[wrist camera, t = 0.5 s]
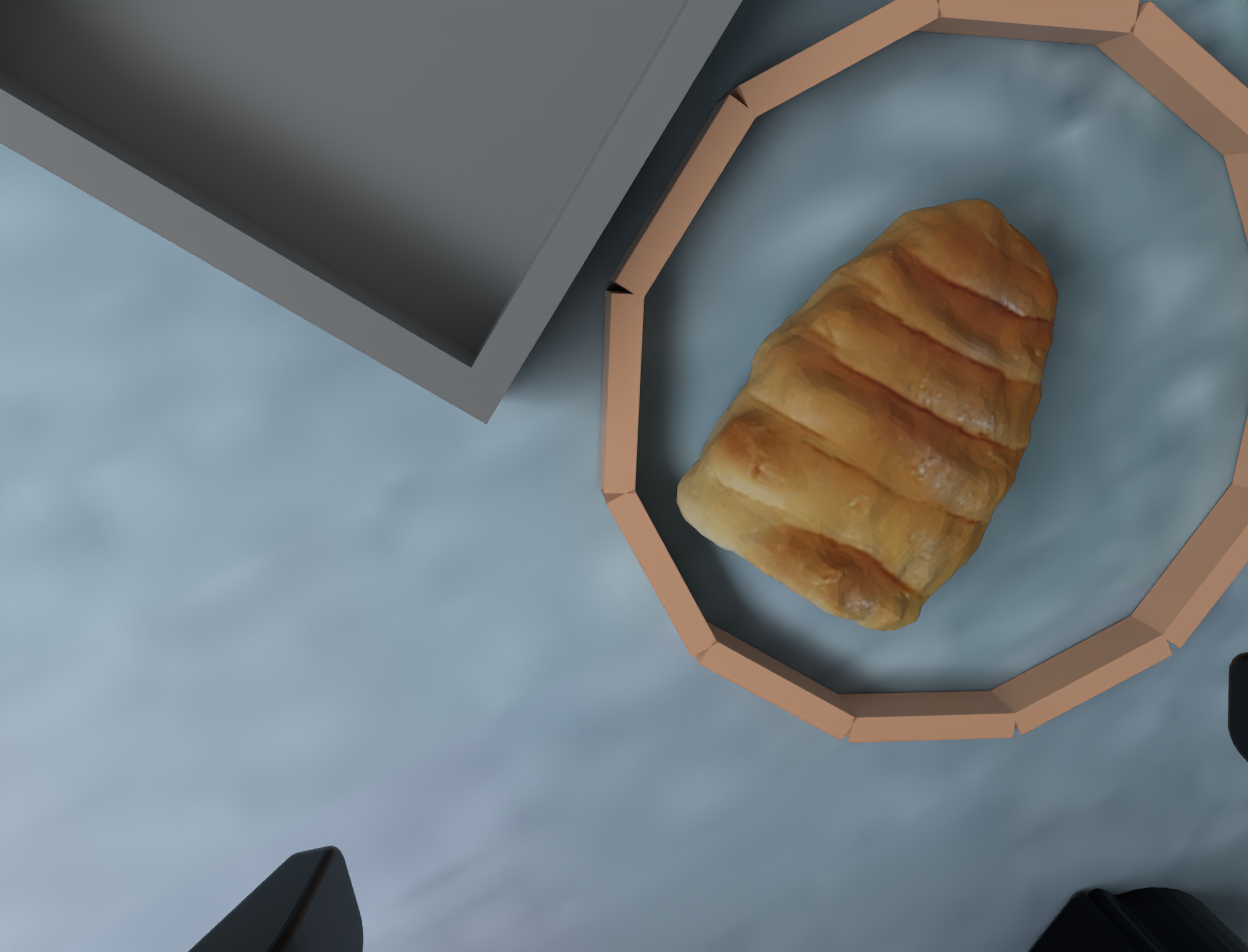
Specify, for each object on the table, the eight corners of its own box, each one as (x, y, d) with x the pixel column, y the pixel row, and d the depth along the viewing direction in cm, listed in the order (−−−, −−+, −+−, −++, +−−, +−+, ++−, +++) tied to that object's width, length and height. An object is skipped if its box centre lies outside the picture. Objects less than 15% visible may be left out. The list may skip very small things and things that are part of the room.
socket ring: (1415, 281, 22) (1465, 282, 21) (1004, 814, 25) (1028, 841, 24) (889, -181, 18) (915, -210, 17) (462, 518, 21) (459, 534, 19)
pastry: (853, 145, 19) (927, 117, 16) (1090, 292, 21) (1209, 298, 17) (651, 509, 21) (674, 561, 17) (882, 625, 22) (949, 697, 19)
